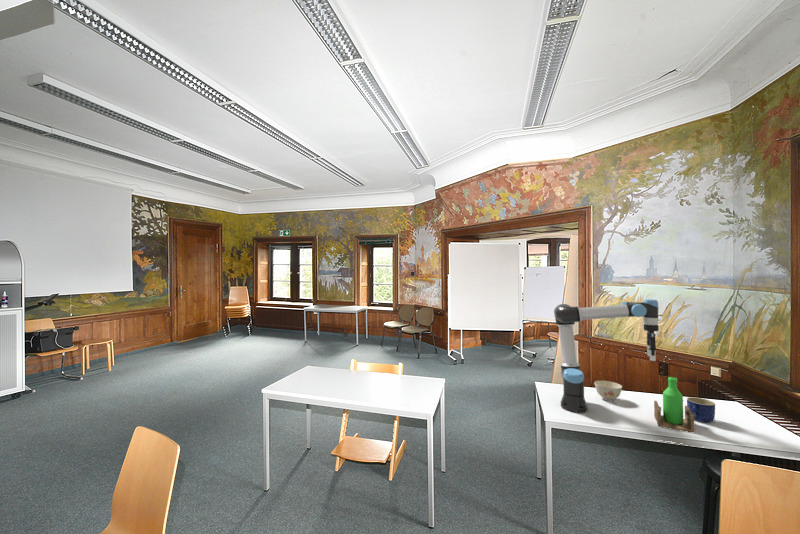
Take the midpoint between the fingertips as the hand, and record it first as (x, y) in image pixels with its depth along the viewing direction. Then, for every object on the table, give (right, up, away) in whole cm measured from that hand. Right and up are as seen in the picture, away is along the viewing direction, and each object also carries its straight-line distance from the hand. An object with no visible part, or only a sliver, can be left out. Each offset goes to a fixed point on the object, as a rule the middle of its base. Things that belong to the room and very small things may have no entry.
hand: (651, 358), depth 207 cm
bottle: (-1, -31, -18) cm, 36 cm away
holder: (-2, -32, -19) cm, 37 cm away
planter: (+20, -33, -13) cm, 40 cm away
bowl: (-15, -33, +19) cm, 41 cm away
